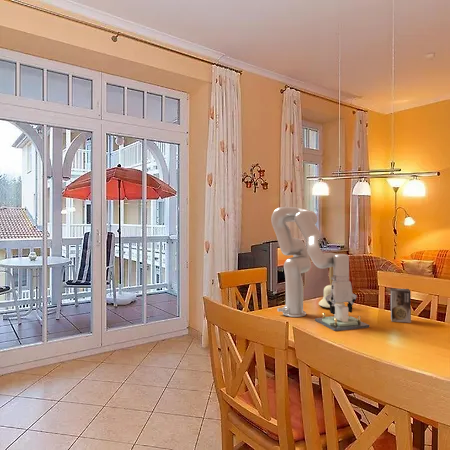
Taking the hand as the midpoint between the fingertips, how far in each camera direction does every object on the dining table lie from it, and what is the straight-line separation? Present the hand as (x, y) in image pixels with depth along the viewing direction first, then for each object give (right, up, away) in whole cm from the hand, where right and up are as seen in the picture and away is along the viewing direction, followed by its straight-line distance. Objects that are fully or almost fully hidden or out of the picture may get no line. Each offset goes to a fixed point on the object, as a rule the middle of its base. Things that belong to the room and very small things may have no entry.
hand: (341, 312), depth 191 cm
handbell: (+5, -5, +35) cm, 35 cm away
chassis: (0, -6, 0) cm, 6 cm away
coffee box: (+32, -5, +5) cm, 33 cm away
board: (0, -4, 0) cm, 4 cm away
